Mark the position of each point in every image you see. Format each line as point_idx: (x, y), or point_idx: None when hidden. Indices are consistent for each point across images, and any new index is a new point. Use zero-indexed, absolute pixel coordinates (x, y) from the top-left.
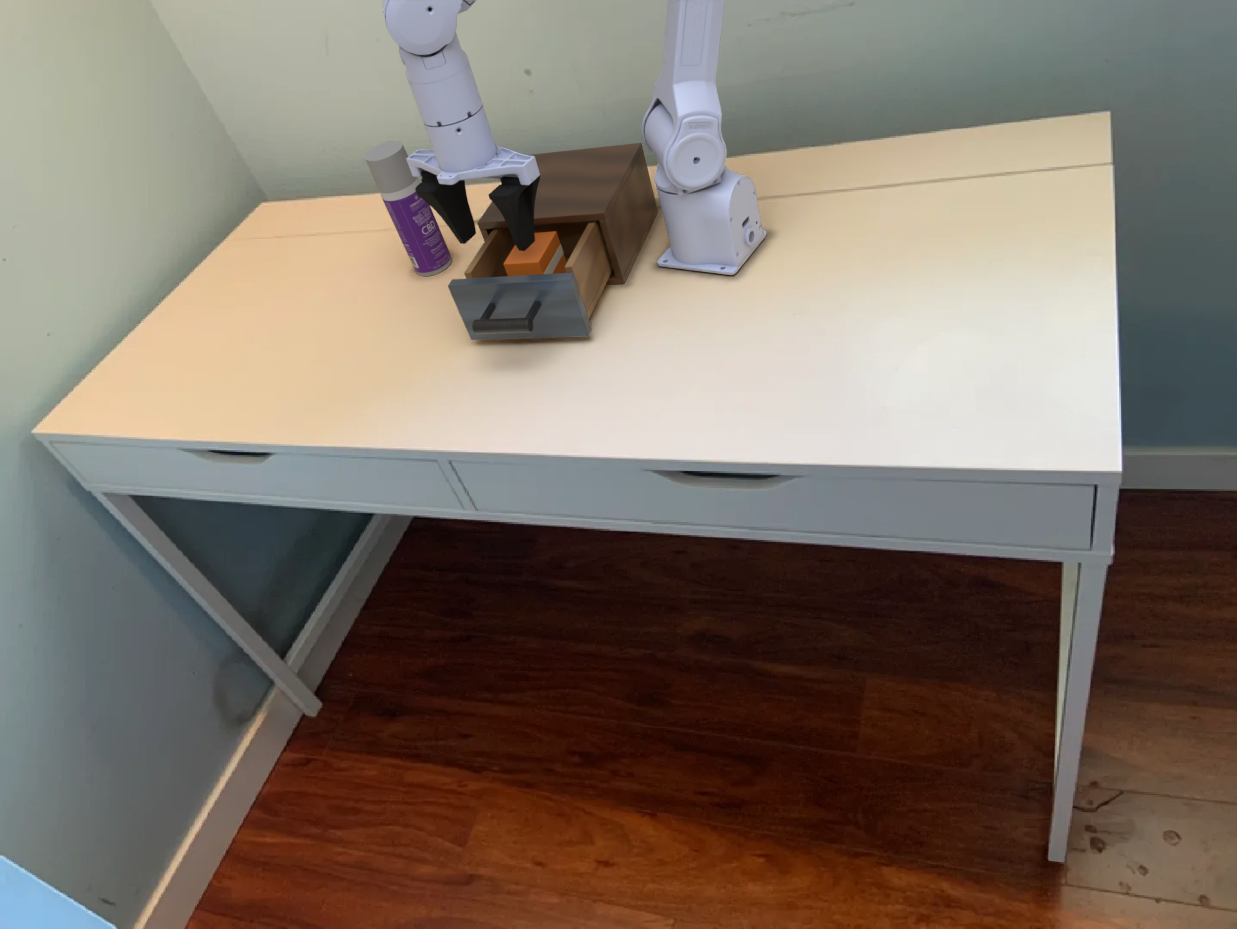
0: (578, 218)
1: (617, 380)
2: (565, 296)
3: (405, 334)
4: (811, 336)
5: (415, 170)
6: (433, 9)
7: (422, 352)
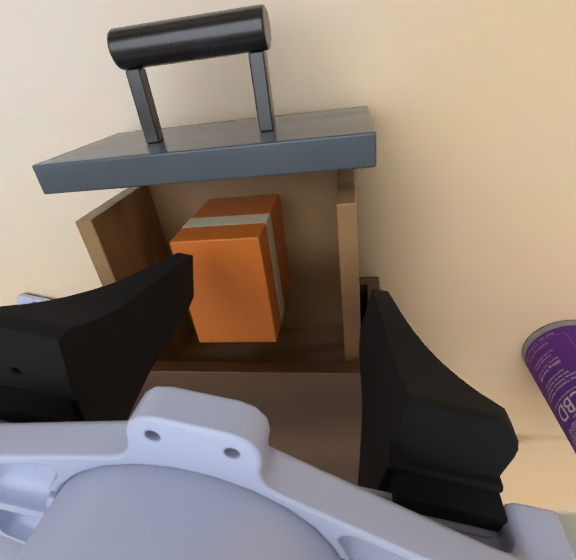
0: (153, 365)
1: (10, 22)
2: (82, 151)
3: (568, 138)
4: None
5: (535, 539)
6: None
7: (496, 73)
